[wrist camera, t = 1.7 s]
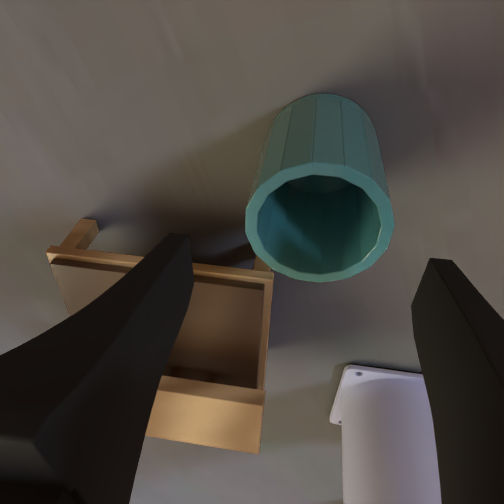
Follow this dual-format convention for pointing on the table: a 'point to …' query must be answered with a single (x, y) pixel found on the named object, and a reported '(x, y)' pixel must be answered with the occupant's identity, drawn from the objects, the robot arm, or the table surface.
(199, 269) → the wooden small stand
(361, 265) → the cup
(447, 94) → the table surface
